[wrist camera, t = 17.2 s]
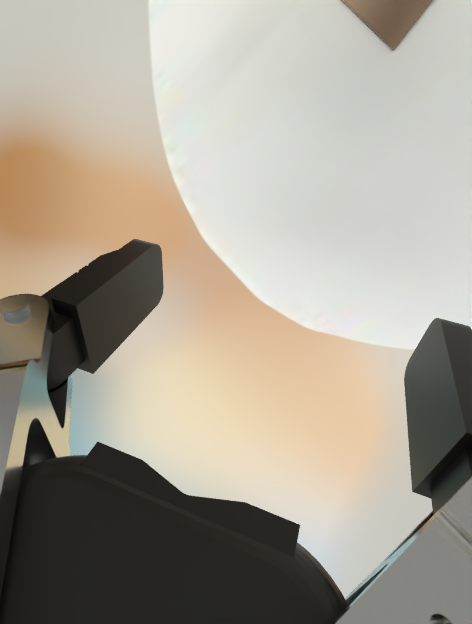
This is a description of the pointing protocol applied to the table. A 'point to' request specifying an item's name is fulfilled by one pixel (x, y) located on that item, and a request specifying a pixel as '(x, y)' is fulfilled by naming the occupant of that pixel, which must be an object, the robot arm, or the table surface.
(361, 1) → the base plate
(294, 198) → the table surface
